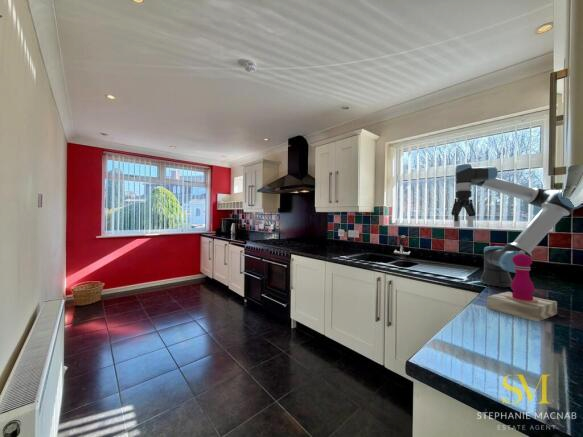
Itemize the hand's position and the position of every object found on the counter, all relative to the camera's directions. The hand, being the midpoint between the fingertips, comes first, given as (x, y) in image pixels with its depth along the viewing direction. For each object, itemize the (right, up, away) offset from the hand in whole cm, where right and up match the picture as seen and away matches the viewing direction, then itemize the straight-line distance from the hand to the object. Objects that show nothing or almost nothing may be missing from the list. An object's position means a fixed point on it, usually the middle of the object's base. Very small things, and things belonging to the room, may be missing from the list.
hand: (463, 227), depth 141 cm
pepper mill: (-4, -29, -40) cm, 49 cm away
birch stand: (-4, -34, -40) cm, 52 cm away
